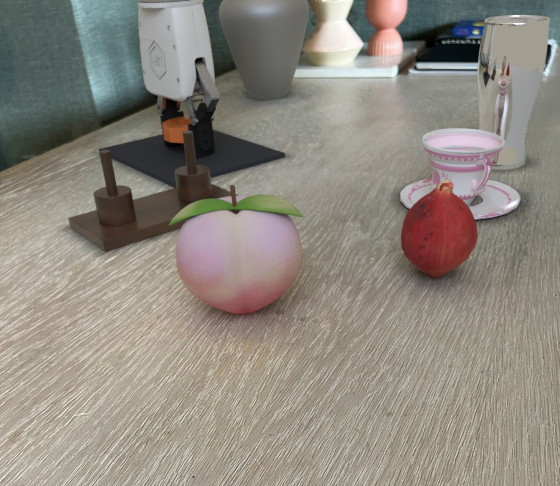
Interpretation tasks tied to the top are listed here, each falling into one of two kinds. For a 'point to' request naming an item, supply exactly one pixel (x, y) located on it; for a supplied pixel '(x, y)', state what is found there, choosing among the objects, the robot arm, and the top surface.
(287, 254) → the decorative fruit
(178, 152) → the mat
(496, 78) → the beer glass
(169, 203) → the rack
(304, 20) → the vase
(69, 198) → the top surface
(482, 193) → the teacup
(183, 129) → the disc
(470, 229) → the pomegranate
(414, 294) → the top surface
